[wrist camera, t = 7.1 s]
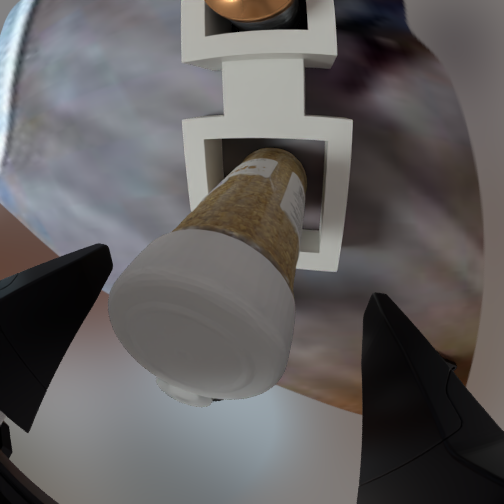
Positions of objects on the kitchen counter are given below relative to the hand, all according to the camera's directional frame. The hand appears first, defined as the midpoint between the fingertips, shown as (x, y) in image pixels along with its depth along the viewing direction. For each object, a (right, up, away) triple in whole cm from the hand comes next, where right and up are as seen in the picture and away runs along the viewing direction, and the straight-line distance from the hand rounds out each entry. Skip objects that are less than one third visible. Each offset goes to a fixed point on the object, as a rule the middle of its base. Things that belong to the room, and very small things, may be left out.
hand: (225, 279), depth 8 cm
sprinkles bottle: (+2, +5, +9) cm, 11 cm away
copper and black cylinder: (+2, +15, +3) cm, 15 cm away
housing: (+2, +10, +6) cm, 11 cm away
